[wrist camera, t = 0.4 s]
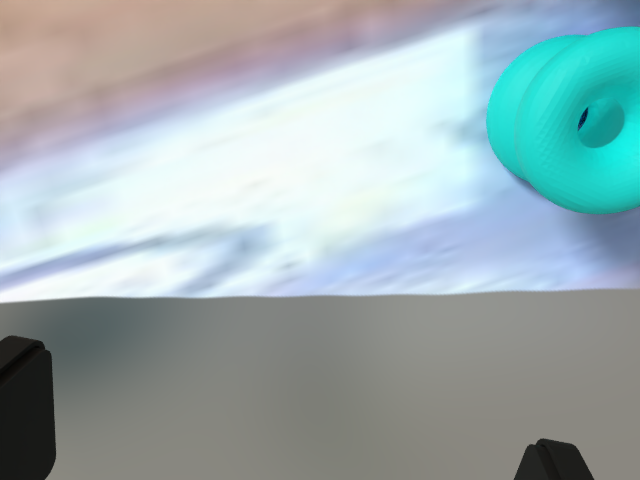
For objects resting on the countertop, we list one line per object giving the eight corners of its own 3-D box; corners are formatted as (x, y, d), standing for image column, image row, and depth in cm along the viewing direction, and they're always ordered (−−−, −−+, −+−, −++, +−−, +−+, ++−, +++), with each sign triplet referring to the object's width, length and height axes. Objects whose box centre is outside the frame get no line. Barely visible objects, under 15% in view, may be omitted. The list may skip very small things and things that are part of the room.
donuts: (774, 75, 24) (648, 248, 27) (660, 72, 33) (576, 201, 37) (593, -11, 23) (487, 176, 27) (529, 11, 33) (457, 147, 36)
